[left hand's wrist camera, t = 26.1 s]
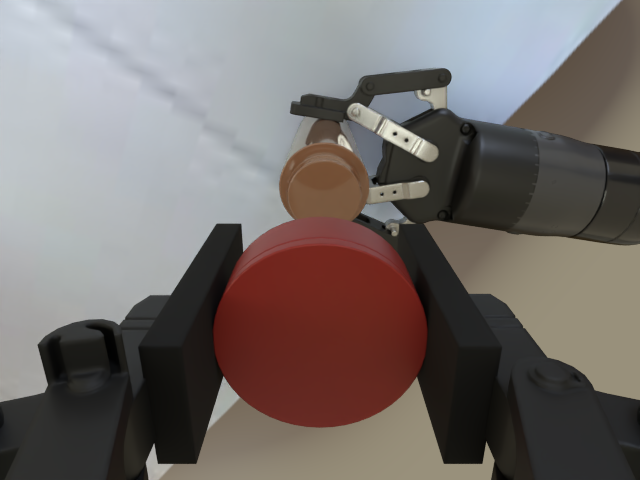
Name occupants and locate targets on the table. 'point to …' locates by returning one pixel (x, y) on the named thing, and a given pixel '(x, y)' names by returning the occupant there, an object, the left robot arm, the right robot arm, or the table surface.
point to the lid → (320, 324)
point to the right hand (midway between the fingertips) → (287, 144)
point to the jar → (324, 172)
